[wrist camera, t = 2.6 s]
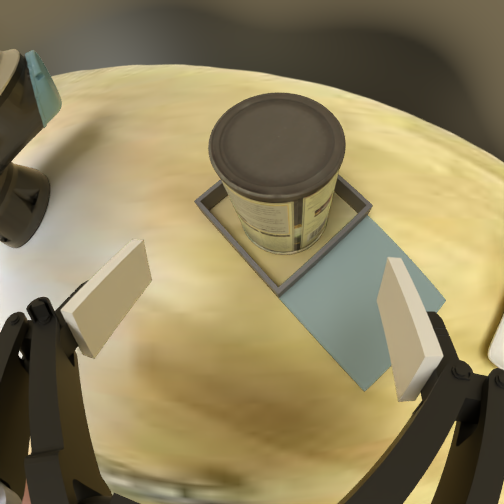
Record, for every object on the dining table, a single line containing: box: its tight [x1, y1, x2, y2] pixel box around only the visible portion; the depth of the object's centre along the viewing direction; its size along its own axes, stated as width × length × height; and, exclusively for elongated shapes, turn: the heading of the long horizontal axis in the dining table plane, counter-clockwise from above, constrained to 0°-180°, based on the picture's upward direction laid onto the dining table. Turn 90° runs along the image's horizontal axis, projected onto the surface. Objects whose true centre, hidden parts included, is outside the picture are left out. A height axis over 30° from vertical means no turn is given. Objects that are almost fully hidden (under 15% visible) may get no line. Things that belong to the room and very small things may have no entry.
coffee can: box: [208, 93, 346, 255], centre depth 27 cm, size 10×10×14 cm
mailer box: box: [194, 174, 446, 392], centre depth 30 cm, size 28×14×3 cm, turn 41°
